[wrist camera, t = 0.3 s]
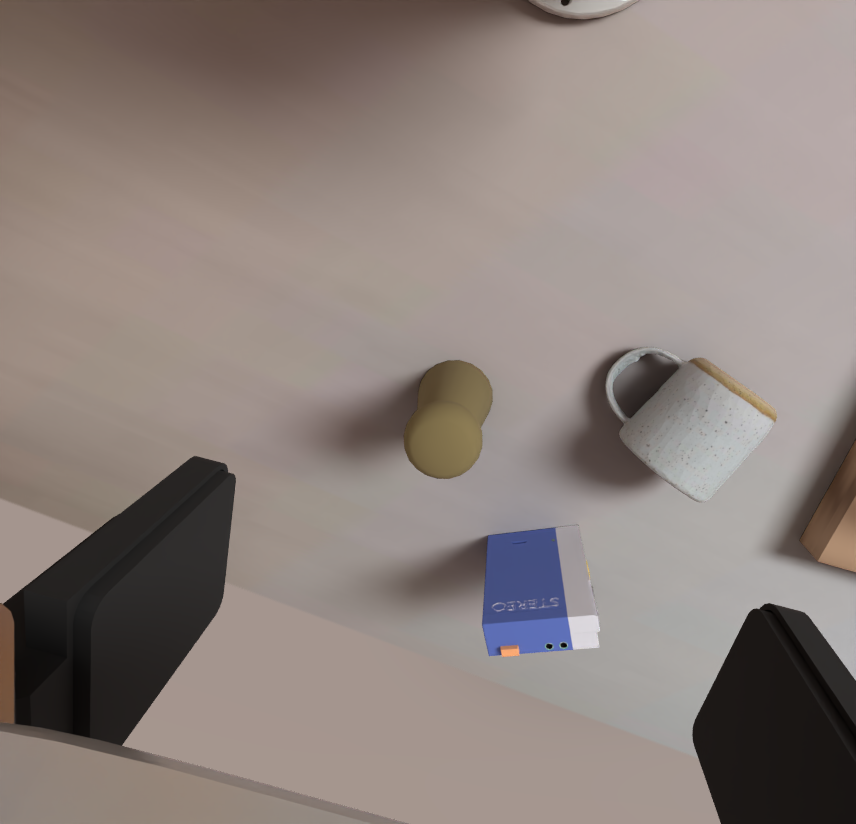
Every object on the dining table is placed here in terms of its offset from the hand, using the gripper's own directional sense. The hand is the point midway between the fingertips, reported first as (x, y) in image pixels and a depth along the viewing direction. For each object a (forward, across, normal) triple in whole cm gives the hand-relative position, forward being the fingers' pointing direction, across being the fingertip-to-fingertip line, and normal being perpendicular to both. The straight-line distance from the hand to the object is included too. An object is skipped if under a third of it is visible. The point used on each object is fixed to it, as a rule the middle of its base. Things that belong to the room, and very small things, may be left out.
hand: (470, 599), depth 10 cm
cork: (+36, +2, +8) cm, 37 cm away
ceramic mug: (+36, -14, +5) cm, 40 cm away
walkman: (+36, -8, +20) cm, 42 cm away
